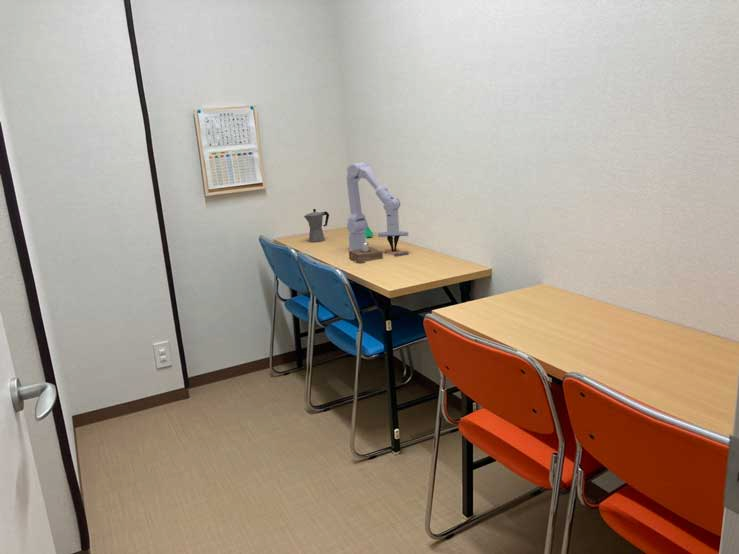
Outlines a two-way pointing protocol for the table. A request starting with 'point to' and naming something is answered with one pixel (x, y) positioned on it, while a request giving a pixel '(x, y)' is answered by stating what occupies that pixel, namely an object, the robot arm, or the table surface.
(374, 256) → the hitch block
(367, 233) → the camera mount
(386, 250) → the latch flap
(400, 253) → the latch bracket
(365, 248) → the steel peg
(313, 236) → the coffeepot
